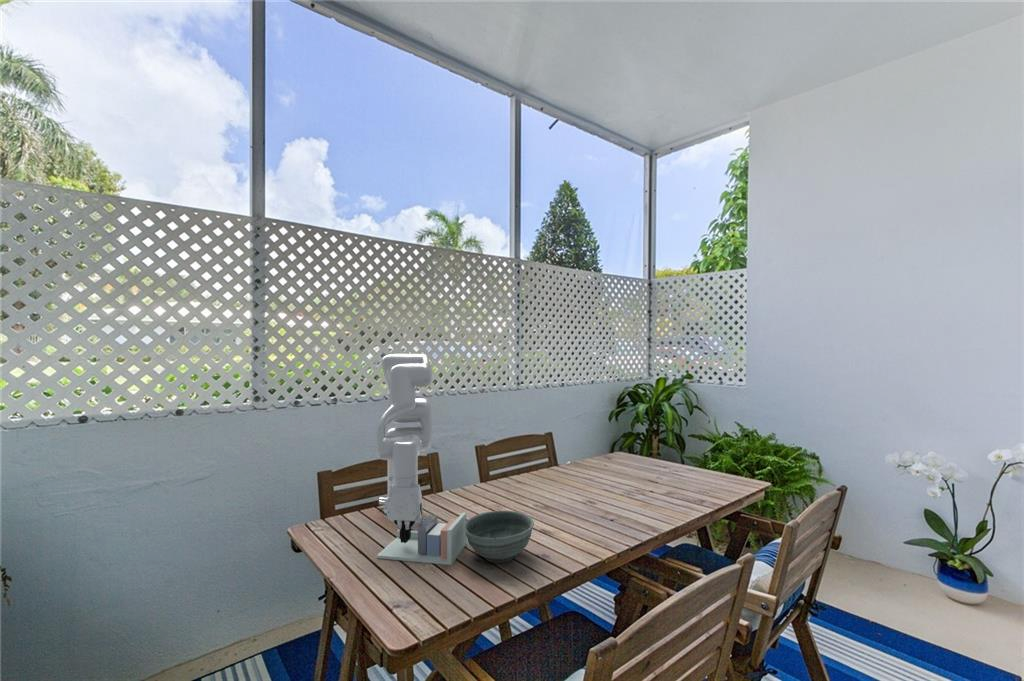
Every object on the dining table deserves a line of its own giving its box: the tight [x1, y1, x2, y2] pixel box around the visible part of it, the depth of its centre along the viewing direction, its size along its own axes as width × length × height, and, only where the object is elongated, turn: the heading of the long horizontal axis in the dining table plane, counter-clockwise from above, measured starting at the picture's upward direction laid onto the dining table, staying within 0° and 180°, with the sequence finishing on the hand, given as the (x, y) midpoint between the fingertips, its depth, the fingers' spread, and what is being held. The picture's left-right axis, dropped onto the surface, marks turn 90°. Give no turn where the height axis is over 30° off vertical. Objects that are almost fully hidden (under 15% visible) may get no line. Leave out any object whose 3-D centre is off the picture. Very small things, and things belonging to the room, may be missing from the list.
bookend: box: [417, 514, 438, 555], centre depth 134 cm, size 2×9×8 cm, turn 168°
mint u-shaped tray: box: [376, 511, 467, 566], centre depth 134 cm, size 23×14×10 cm, turn 78°
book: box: [427, 522, 447, 557], centre depth 133 cm, size 4×9×6 cm, turn 168°
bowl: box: [464, 510, 535, 564], centre depth 130 cm, size 21×21×10 cm
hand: (405, 540), depth 136 cm, fingers closed
